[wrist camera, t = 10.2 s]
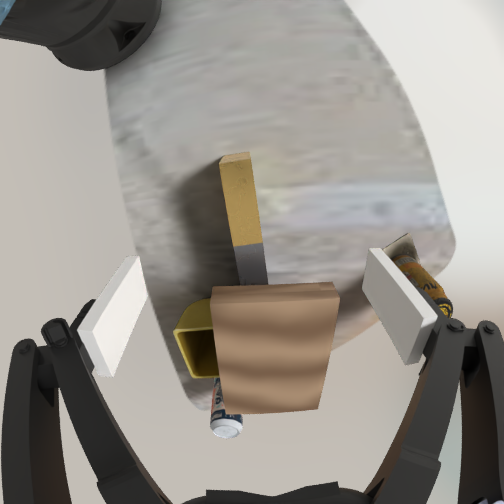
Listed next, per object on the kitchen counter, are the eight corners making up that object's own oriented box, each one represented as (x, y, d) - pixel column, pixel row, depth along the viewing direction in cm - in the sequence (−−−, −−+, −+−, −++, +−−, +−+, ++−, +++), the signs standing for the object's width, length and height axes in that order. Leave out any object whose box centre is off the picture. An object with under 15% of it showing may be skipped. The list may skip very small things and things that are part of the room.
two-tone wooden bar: (223, 155, 33) (218, 163, 27) (249, 151, 33) (250, 158, 26) (255, 337, 44) (257, 370, 38) (274, 335, 44) (279, 367, 38)
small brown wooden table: (219, 247, 38) (210, 303, 26) (313, 244, 38) (340, 298, 27) (228, 350, 45) (225, 414, 34) (303, 347, 45) (317, 409, 34)
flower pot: (199, 336, 44) (191, 379, 36) (184, 289, 40) (171, 330, 32) (255, 330, 44) (258, 374, 35) (246, 281, 40) (247, 323, 32)
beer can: (234, 362, 47) (232, 421, 36) (247, 378, 48) (248, 435, 38) (209, 370, 47) (203, 428, 36) (223, 386, 49) (220, 441, 38)
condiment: (386, 298, 42) (419, 349, 31) (367, 258, 39) (404, 308, 28) (423, 274, 41) (464, 318, 30) (408, 231, 37) (455, 272, 27)
